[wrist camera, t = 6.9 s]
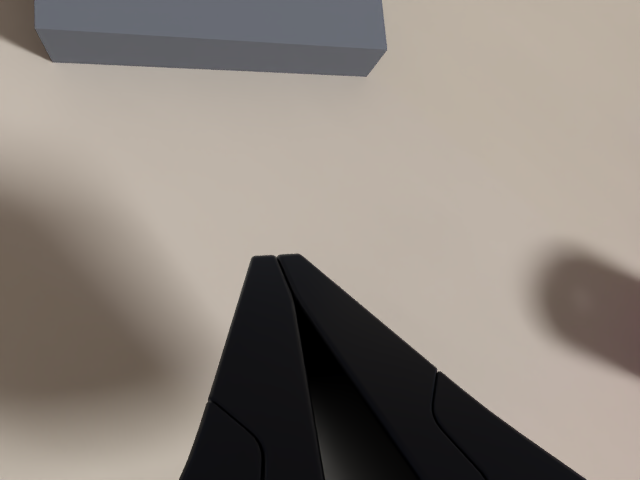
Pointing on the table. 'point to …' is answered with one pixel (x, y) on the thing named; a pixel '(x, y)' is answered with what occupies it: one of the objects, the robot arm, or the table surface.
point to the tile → (216, 34)
